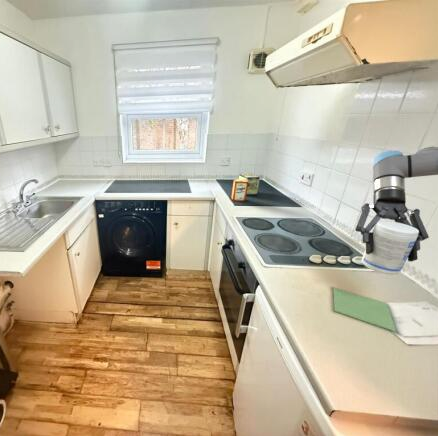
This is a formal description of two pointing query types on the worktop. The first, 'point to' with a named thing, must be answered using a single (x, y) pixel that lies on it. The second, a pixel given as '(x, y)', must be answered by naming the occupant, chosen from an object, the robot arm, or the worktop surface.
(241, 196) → the baking soda box
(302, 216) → the worktop surface
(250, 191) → the protein box
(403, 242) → the supplement tub
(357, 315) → the mat
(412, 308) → the worktop surface
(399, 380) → the worktop surface
